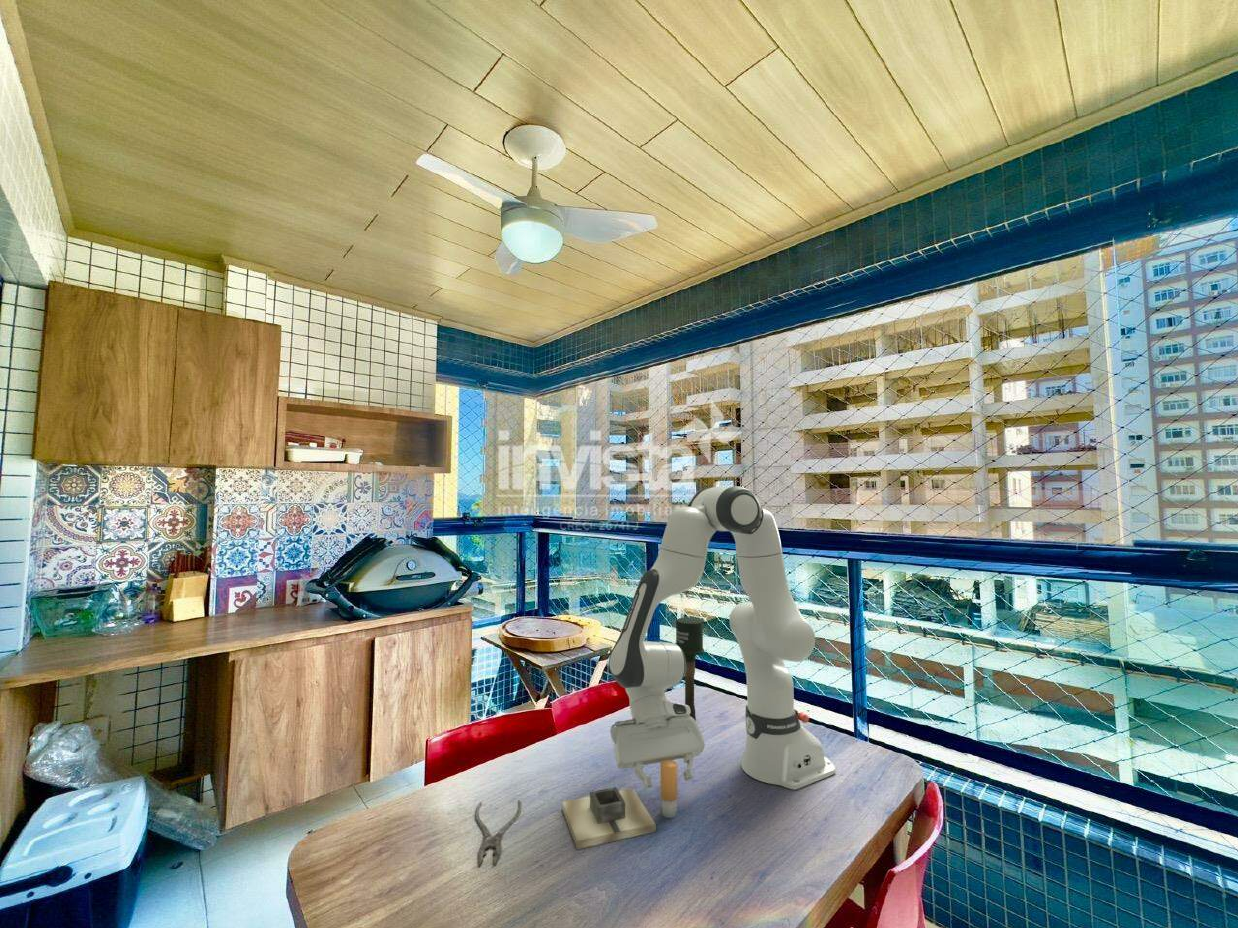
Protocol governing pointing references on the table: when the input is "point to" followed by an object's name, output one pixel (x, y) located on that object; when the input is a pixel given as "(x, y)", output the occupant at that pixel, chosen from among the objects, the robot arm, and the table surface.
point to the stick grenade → (690, 653)
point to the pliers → (493, 840)
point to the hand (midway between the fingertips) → (669, 783)
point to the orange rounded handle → (669, 787)
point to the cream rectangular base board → (606, 817)
